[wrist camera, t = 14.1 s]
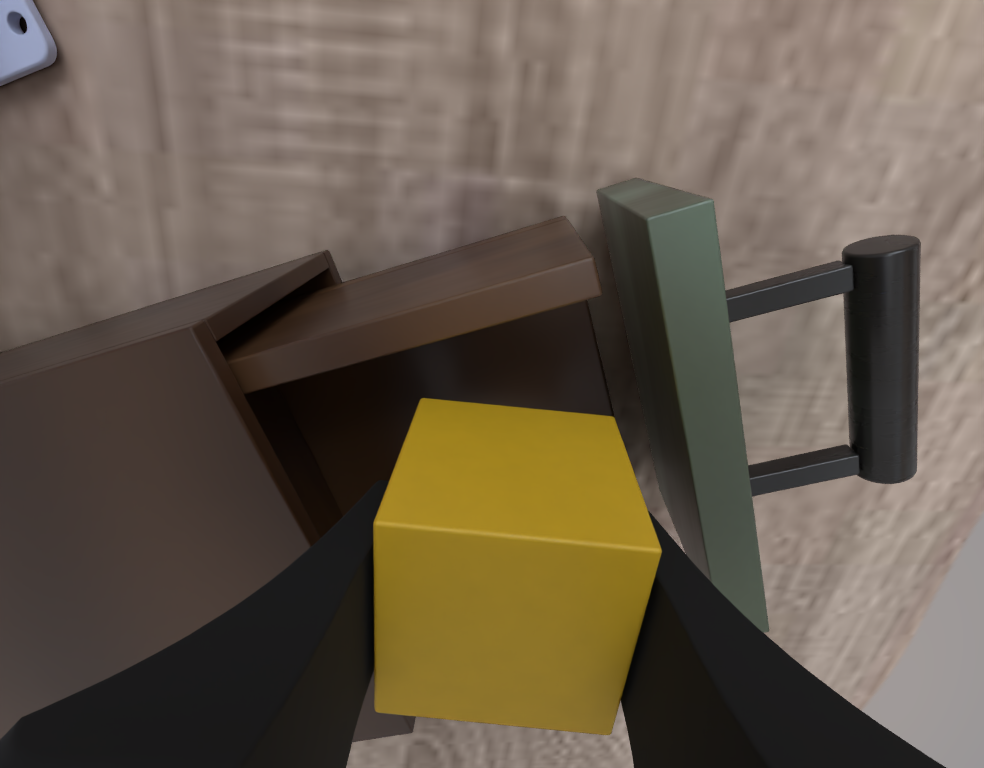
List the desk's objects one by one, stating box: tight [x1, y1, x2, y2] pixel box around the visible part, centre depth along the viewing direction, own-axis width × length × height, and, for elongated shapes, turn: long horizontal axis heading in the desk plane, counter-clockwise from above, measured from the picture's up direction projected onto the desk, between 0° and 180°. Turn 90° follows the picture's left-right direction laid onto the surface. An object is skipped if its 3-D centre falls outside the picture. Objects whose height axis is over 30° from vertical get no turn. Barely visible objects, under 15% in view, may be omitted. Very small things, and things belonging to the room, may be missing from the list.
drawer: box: [216, 178, 921, 633], centre depth 15 cm, size 18×11×6 cm, turn 107°
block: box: [373, 398, 662, 735], centre depth 11 cm, size 4×4×4 cm
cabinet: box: [0, 250, 416, 742], centre depth 17 cm, size 14×12×8 cm
